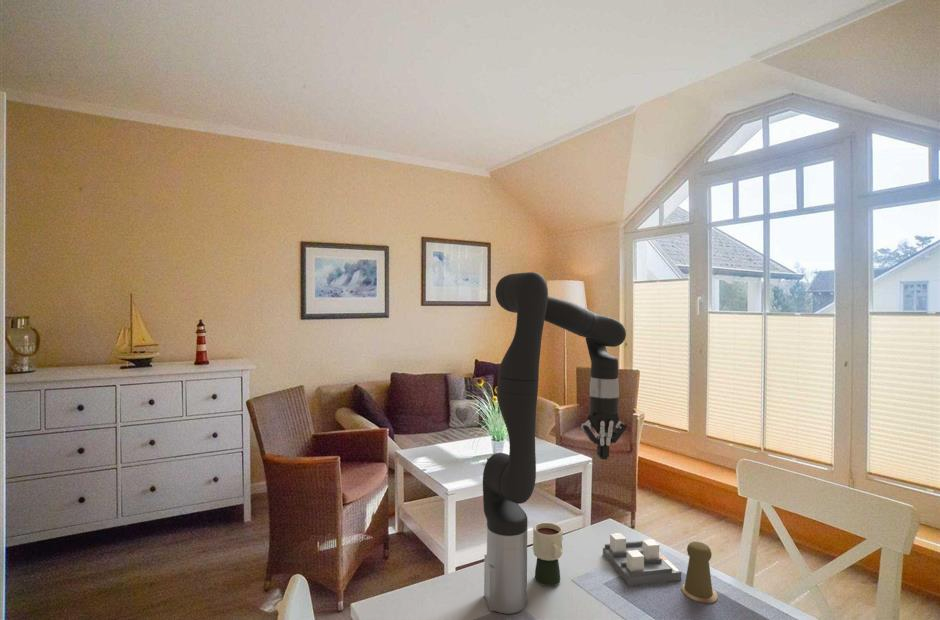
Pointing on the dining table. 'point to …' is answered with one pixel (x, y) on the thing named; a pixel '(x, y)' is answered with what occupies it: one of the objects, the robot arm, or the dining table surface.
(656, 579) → the switch panel
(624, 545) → the tab back
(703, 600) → the cork coaster
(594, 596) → the dining table surface
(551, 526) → the character mug
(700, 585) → the pepper shaker
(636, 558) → the tab front
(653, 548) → the tab middle
